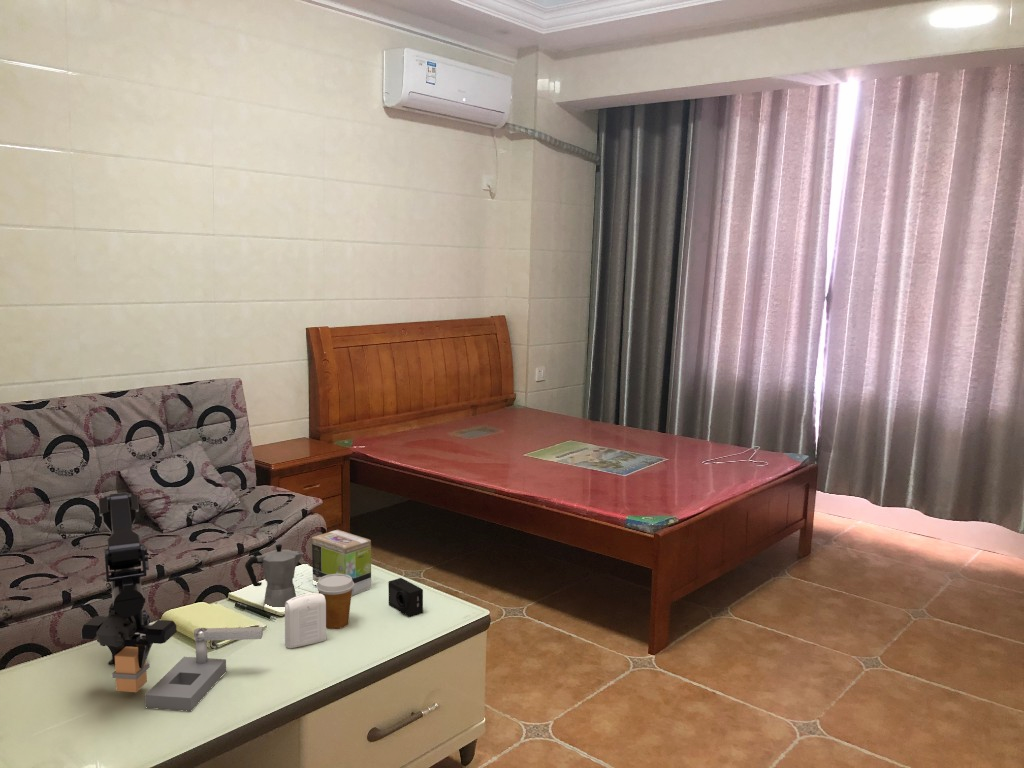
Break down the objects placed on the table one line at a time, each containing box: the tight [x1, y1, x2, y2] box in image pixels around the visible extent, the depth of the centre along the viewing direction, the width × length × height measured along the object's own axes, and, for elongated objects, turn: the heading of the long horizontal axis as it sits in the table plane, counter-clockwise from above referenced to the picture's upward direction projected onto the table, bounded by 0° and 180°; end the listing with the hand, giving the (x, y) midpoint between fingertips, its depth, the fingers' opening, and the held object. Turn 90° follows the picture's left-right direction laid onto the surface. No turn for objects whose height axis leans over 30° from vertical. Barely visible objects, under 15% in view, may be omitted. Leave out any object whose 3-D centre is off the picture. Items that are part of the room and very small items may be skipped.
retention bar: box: [193, 626, 264, 642], centre depth 190 cm, size 3×15×2 cm, turn 96°
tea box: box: [311, 529, 372, 597], centre depth 240 cm, size 15×10×15 cm, turn 51°
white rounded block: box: [284, 592, 327, 649], centre depth 206 cm, size 10×4×12 cm, turn 123°
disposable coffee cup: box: [315, 574, 354, 630], centre depth 216 cm, size 10×10×12 cm
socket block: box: [144, 640, 227, 712], centre depth 183 cm, size 10×17×8 cm, turn 174°
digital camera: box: [388, 577, 424, 618], centre depth 226 cm, size 10×5×7 cm, turn 41°
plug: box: [111, 646, 151, 693], centre depth 181 cm, size 5×5×8 cm
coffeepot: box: [244, 544, 305, 607], centre depth 224 cm, size 15×9×18 cm, turn 117°
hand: (131, 666), depth 181 cm, fingers closed on plug, 4 cm apart
